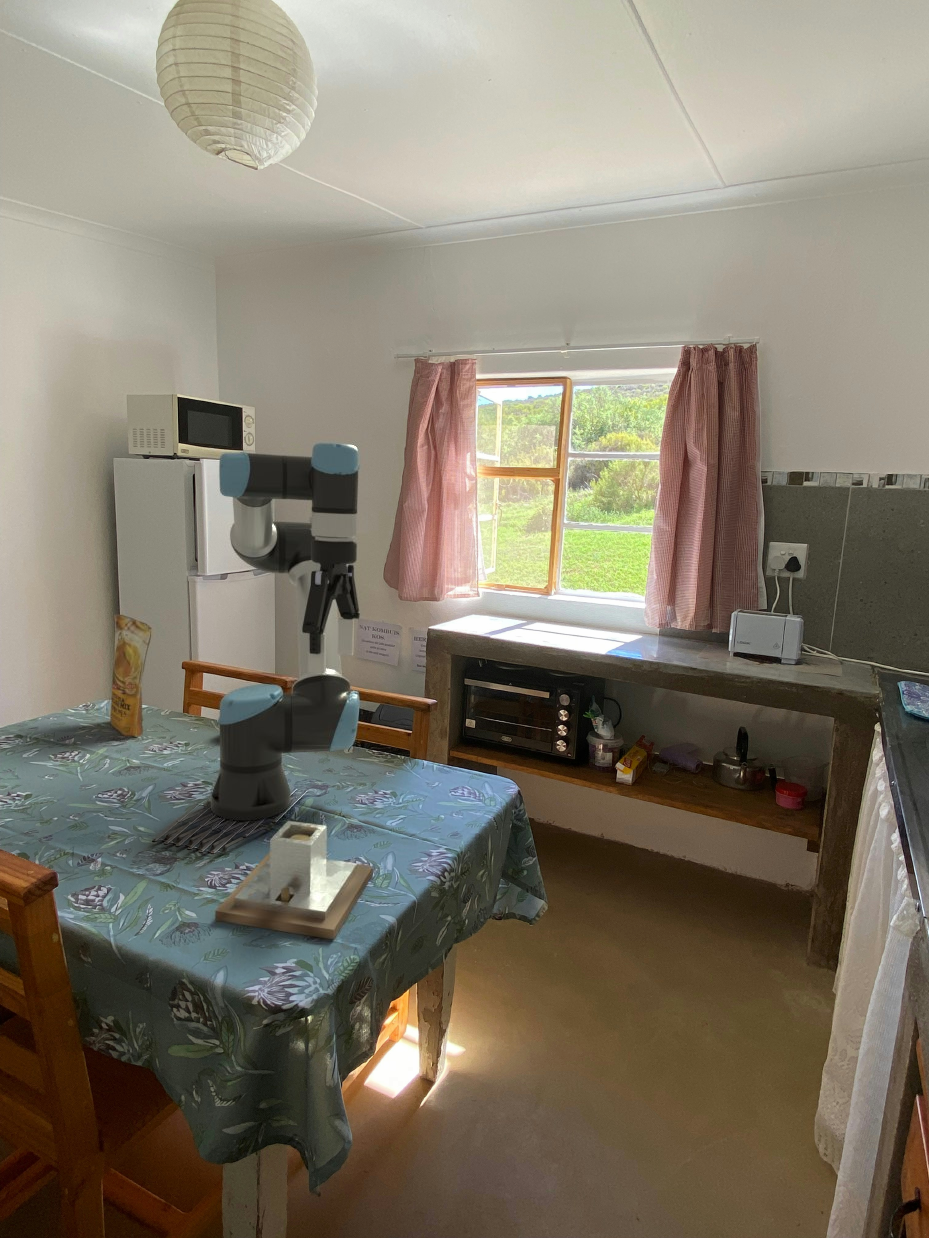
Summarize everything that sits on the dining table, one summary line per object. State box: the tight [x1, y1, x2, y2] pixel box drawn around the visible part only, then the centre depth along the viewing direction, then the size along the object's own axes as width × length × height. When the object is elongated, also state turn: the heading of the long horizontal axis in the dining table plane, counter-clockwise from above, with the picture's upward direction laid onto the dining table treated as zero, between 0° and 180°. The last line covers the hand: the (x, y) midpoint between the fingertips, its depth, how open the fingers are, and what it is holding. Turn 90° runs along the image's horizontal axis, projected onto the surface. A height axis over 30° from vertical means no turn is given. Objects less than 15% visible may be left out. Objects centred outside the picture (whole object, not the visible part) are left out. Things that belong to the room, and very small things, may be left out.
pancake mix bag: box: [109, 613, 153, 738], centre depth 180 cm, size 7×19×28 cm, turn 42°
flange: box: [234, 820, 358, 919], centre depth 111 cm, size 14×14×9 cm
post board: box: [214, 834, 374, 940], centre depth 111 cm, size 18×18×10 cm
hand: (332, 663), depth 124 cm, fingers open, 13 cm apart
